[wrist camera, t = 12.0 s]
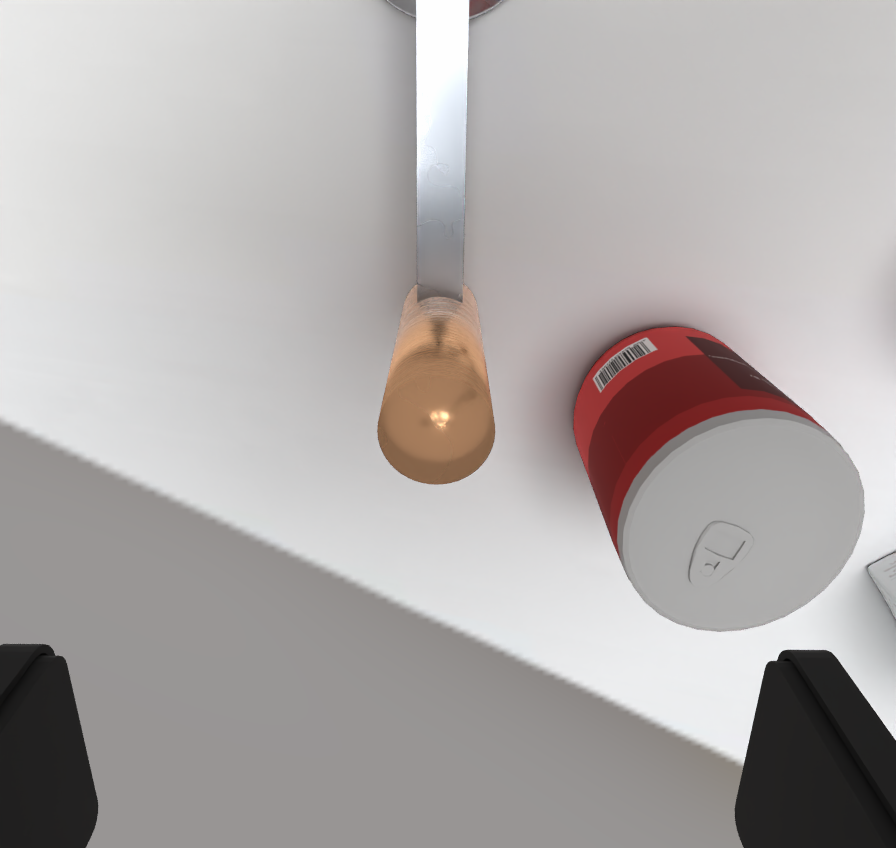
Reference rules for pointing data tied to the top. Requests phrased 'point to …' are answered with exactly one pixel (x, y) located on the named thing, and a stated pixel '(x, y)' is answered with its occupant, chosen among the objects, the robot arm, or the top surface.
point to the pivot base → (478, 5)
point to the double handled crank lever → (439, 281)
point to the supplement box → (886, 579)
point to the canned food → (713, 482)
